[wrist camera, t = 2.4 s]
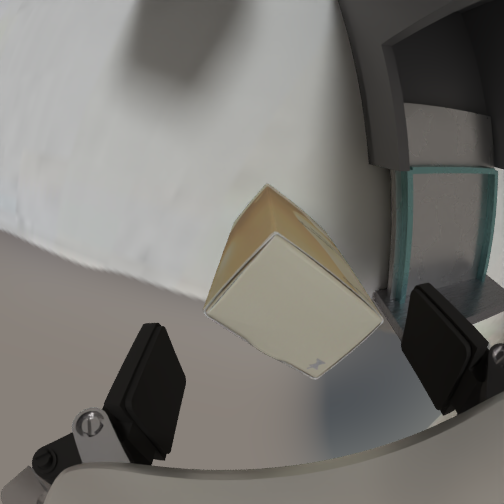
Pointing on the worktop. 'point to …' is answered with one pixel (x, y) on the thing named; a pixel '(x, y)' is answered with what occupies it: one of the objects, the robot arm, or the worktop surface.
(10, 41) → the worktop surface
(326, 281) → the skincare box
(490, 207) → the tray
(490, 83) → the housing
